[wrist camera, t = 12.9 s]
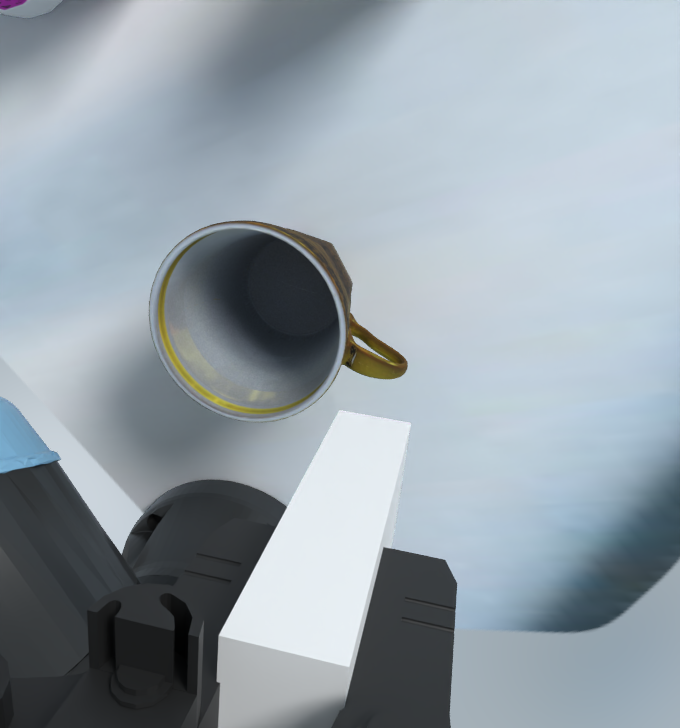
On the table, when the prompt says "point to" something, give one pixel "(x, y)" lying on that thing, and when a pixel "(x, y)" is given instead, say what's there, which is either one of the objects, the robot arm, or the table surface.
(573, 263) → the table surface
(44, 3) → the supplement can
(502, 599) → the table surface
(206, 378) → the ceramic cup
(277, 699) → the robot arm
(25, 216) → the table surface
